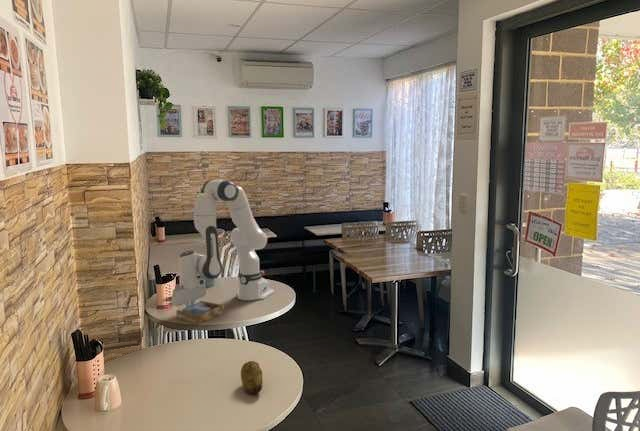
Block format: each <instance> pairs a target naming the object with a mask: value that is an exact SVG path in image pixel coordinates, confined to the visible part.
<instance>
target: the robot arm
mask: <svg viewBox="0 0 640 431" xmlns="http://www.w3.org/2000/svg"><path fill="white" fill-rule="evenodd" d="M221 201H222V202H226V204H227V207H228V210H229V214H230V216H231V220H232V222H233V224H234V225H235V226H236V227H235V228H232V231H231V232H230V241H231V242H232V244H233V245H234V248H235V250H236V253H237V257H238V265H239V267H238V268H239V272H238V279H239V281H238V286H237V292H236V296H237V299H239V300H241V301H255V300H256V301H257V300H265V299H266V298H267V297H269V296H271V294H273V293H275V289H273V288H271V287H270V286H271V285H270V282H269V280H267V279H265V278H264V277H263V276H262V275H265V270H260V258H259V255H257V252H256V251H257V250H262V249H264V248H265V247H266V245H267V243H268V236H267V234H266V233H265V232H264V231H262V229H261V228H260V227H259V224H258V223H257V222H256V219H255V217H254V216H253V213H252V209H251V206H250V203H249V200H248V197H247V195H246V193H245V190H244V189H243V188H242V186H239V185H236V184H235V183H234V182H233V181H231V180H227V179H221V178H220V179H209V180H207V181H205V182H204V183H203V185H202V189H201V192H200V193H199V194H197V196H196V197H195V202H194V206H193V224H194V227H195V230H196V231H197V232H199V234H200V235H201V236H202V237H203V240H204V243H205V254H200V253H198V252H195V250H194V251H193V250H188V251H187V250H186V251H183V252H181V253H180V255H179V258H178V271H179V279H178V280H179V284H180V286H179V287H176V288H175V289H174V290H173V292H172V295H171V304H172V306H173V307H174V306H175V307H180V306H183V305H184V306H185V308H186V307H189V306H191V305H194V304H196V300H198V299H201V298H203V297H206V294H207V287H205V284H204V283H205V280H204V279H200V277H199V278H198V276H199V274H202V275H204V276H205V277H207V278H208V279H216V278H218V277H220V275H221V274H222V271H223V264H222V261H221V259H220V251H219V249H220V248H219V236H218V234H219V233H218V229H217V205H218V203H219V202H221ZM255 250H256V251H255Z"/></svg>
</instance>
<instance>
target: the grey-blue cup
mask: <svg viewBox="0 0 640 431" xmlns="http://www.w3.org/2000/svg"><path fill="white" fill-rule="evenodd" d="M198 276H199V278H200V279H204V280H205V283H204V284H205V287H206V288H212V287H214V286H216V285H215V283H216V280H215V279H216V278H215V279H208V278H207V277H205V276H204V275H202V274H198Z"/></svg>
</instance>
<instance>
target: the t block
mask: <svg viewBox="0 0 640 431" xmlns="http://www.w3.org/2000/svg"><path fill="white" fill-rule="evenodd" d="M210 310H211V308H207V307H205V303H200V301H199V302H195V303H194V305H191V306H190V305H189V307H186V306H185V307H184V308H182V309H181V311H184V312H188V313H193V314H197V315H201V314H203V313H206V312H208V311H210Z"/></svg>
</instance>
